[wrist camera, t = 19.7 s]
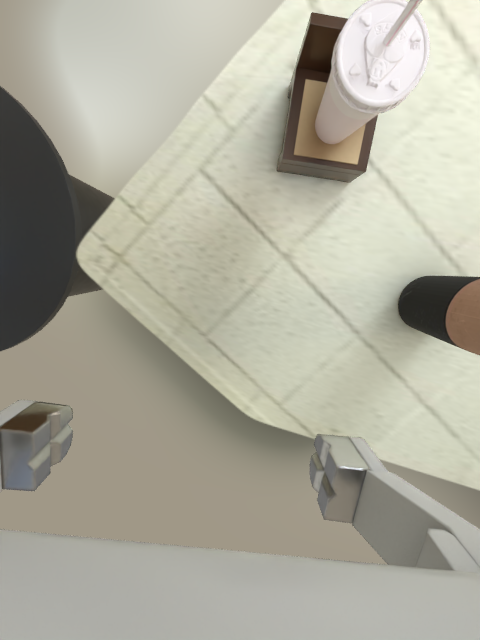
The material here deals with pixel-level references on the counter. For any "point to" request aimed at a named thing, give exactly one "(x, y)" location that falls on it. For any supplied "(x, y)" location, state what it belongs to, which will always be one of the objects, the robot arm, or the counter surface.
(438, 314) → the travel mug
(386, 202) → the counter surface
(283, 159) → the wooden chair
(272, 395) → the counter surface
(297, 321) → the counter surface
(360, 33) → the smoothie
